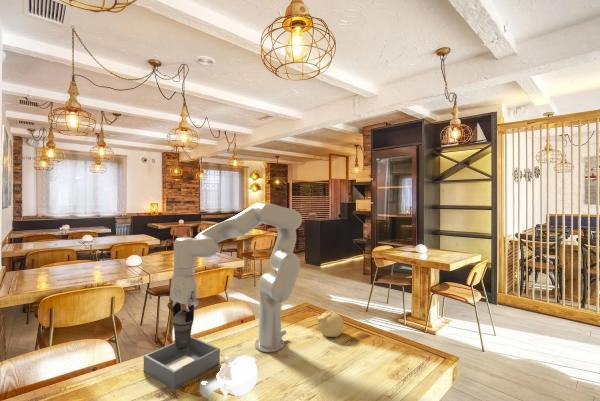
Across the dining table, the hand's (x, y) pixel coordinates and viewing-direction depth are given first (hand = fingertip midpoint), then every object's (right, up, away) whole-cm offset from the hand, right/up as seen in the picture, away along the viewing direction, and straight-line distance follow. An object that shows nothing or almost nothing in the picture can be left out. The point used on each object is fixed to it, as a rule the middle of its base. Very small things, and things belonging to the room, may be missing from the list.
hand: (183, 318), depth 119 cm
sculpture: (+58, -20, +33) cm, 69 cm away
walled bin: (-1, -19, +1) cm, 19 cm away
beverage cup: (-1, -13, 0) cm, 13 cm away
